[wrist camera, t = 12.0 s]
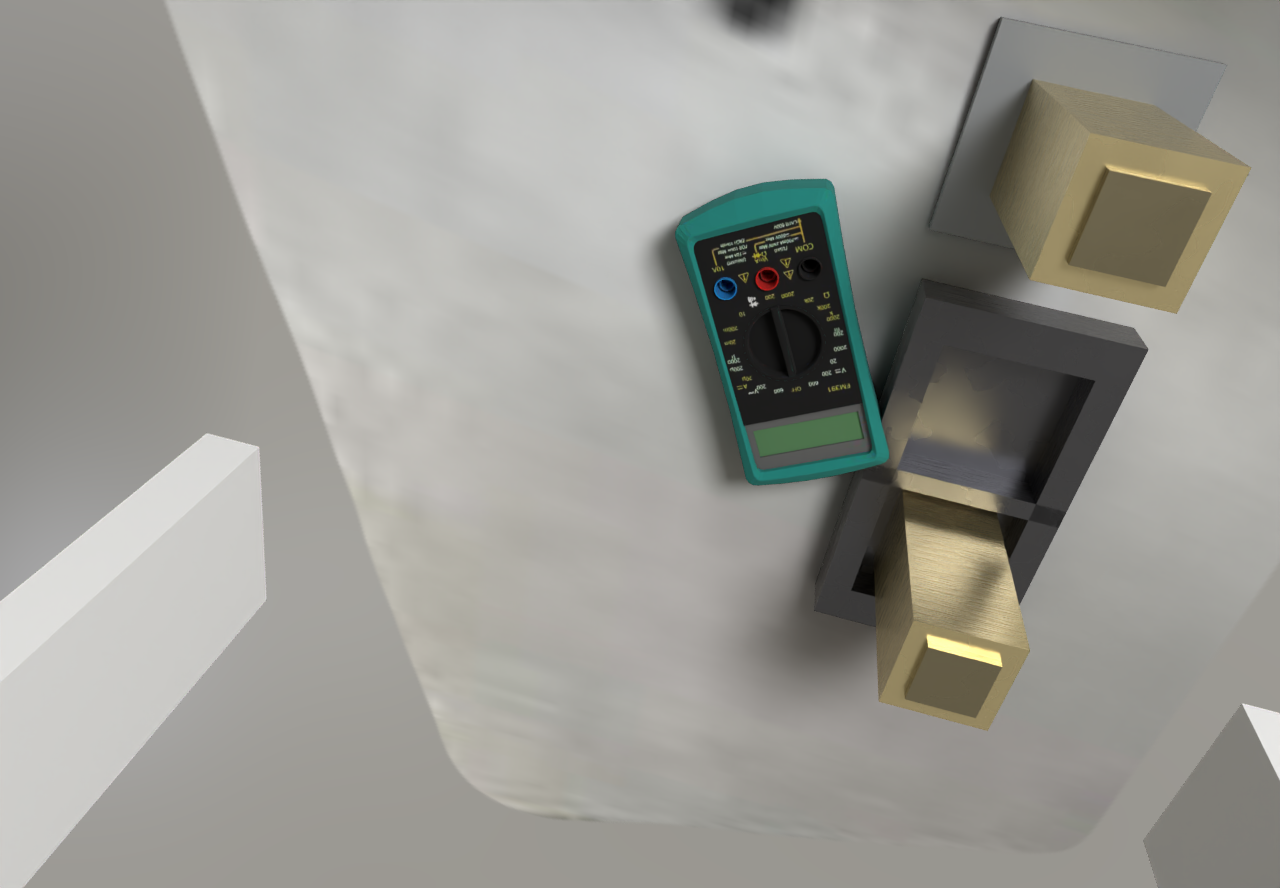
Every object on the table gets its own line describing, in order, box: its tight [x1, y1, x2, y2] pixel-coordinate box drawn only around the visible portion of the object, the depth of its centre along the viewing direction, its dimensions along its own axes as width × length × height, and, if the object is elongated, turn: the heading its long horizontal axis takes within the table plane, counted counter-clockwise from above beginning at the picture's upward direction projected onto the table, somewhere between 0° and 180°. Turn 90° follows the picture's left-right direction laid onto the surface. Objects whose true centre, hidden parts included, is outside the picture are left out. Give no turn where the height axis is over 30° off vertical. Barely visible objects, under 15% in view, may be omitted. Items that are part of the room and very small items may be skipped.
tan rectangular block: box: [990, 79, 1251, 314], centre depth 35 cm, size 5×5×11 cm
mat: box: [929, 17, 1227, 249], centre depth 40 cm, size 9×9×1 cm
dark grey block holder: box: [814, 279, 1148, 627], centre depth 48 cm, size 19×10×2 cm, turn 170°
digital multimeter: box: [675, 179, 889, 485], centre depth 45 cm, size 7×15×3 cm, turn 17°
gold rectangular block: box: [874, 489, 1030, 731], centre depth 46 cm, size 5×5×11 cm
